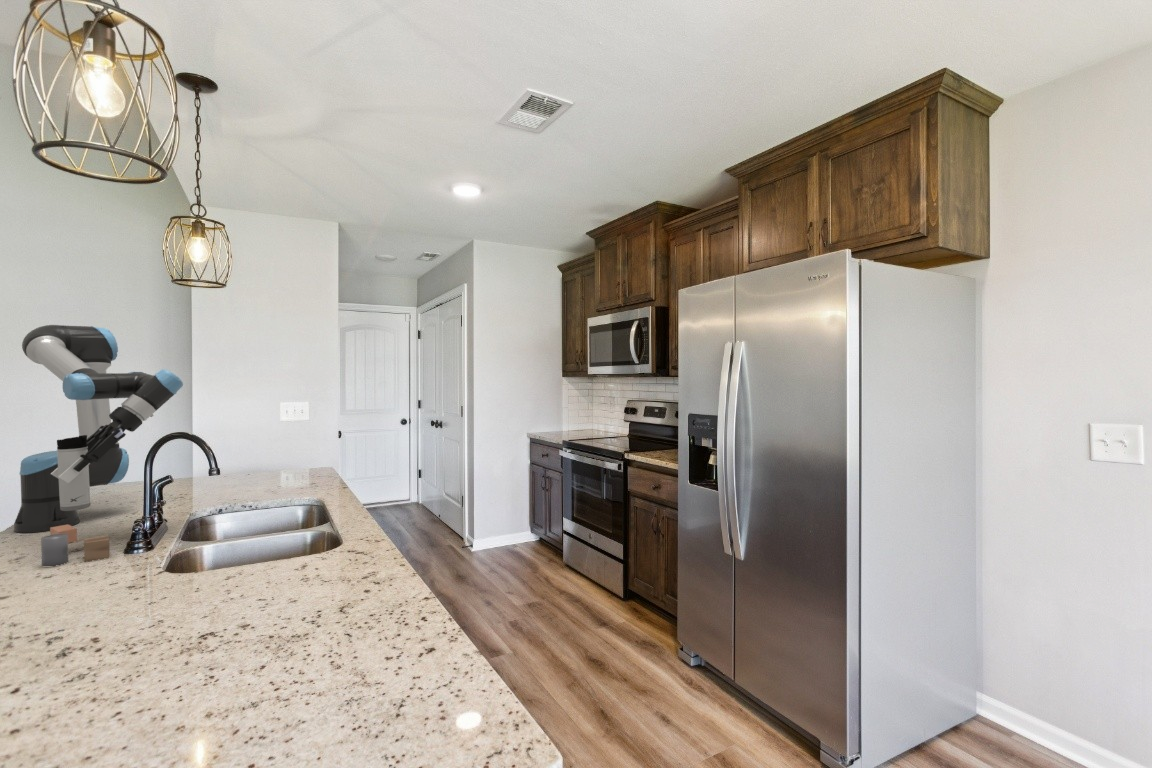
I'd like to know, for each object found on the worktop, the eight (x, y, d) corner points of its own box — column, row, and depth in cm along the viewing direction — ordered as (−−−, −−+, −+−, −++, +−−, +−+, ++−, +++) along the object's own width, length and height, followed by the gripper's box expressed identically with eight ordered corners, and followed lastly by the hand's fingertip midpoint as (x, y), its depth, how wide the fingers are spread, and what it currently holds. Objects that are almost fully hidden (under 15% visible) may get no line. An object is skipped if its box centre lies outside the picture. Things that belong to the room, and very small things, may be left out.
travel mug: (79, 510, 152) (75, 437, 151) (53, 511, 152) (49, 437, 151) (97, 504, 158) (94, 433, 157) (73, 505, 158) (69, 434, 157)
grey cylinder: (48, 561, 146) (47, 534, 146) (72, 559, 148) (71, 532, 148) (37, 568, 142) (36, 540, 141) (62, 565, 143) (61, 538, 143)
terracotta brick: (50, 541, 164) (50, 527, 164) (68, 537, 168) (68, 524, 168) (58, 545, 160) (58, 531, 160) (77, 542, 163) (76, 528, 163)
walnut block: (84, 557, 150) (84, 538, 150) (109, 553, 153) (108, 535, 153) (84, 562, 146) (83, 543, 146) (109, 558, 149) (109, 539, 149)
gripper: (155, 424, 162) (84, 491, 149) (130, 420, 173) (61, 482, 160) (133, 407, 157) (56, 474, 145) (108, 403, 168) (35, 466, 155)
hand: (59, 478), depth 152 cm, fingers closed on travel mug, 6 cm apart
